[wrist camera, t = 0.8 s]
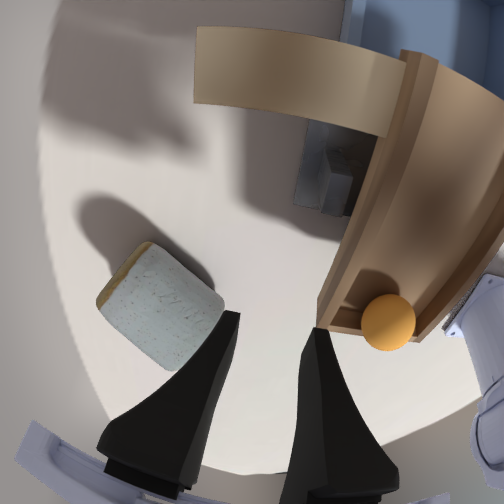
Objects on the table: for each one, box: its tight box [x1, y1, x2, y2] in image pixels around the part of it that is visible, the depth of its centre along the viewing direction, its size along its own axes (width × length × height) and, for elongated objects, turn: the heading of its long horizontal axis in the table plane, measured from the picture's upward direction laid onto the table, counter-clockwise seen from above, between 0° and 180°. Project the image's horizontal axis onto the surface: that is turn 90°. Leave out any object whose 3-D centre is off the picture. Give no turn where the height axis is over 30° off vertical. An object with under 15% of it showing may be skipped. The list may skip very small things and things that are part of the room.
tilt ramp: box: [194, 26, 504, 343], centre depth 12 cm, size 14×14×5 cm
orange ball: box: [361, 294, 416, 351], centre depth 13 cm, size 3×3×3 cm
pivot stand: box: [293, 119, 378, 217], centre depth 14 cm, size 12×6×5 cm, turn 83°
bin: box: [339, 0, 504, 101], centre depth 8 cm, size 10×10×4 cm
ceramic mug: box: [96, 242, 225, 371], centre depth 22 cm, size 11×8×8 cm
